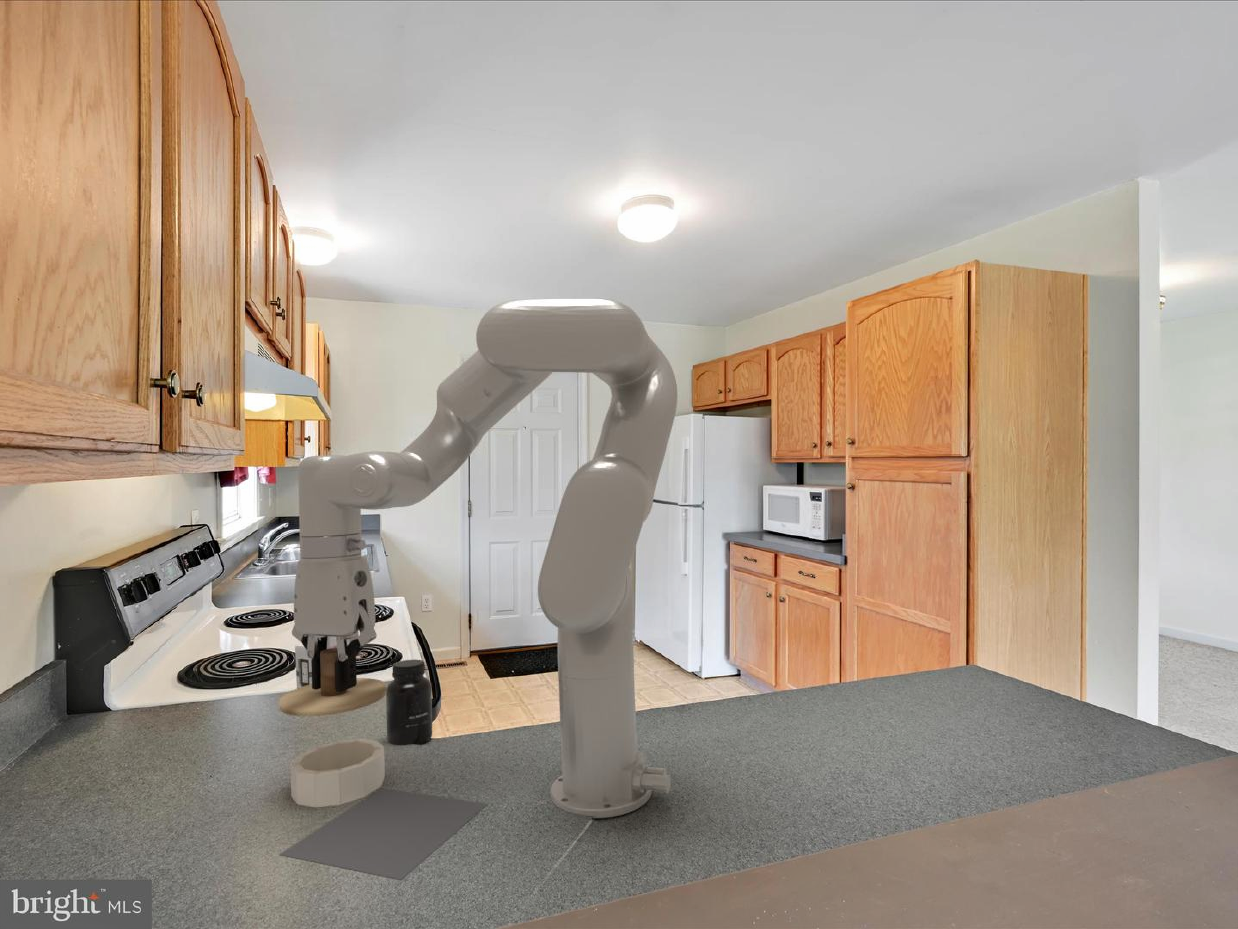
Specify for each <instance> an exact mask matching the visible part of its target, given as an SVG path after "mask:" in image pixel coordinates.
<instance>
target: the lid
mask: <svg viewBox="0 0 1238 929" xmlns="http://www.w3.org/2000/svg"><path fill="white" fill-rule="evenodd" d="M338 660H339V658H338V650H337V648H330V649H326V650H323V651H321V652H320V674H321V688H320V689H317V690H315V689H312V684H310V685H307V686H303V687H300V688H297V687H296V688H294V689H291V691H289V692H287V693H285V694H283V695H282V696H280V698H279V700H278V708H279V711H280V712H281V713H283V714H284V715H285V714H286V715H289V716H297V717H319V716H330V715H337V714H340V713H346V712H350V711H354V710H355V711H356V710H358V709H361V708H365V707H367V706H370V705H372V704H375V703H377V702H378V701H380V700H382V699H383V698H384V697H386V688H387V683H385V682H384V681H382V680H381V679H375V678H369V677H357V684H356V686H354V687H352V688H349V689H347V690H345V691H342V692H337V691H336V690H335V661H338Z"/></svg>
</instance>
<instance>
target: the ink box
mask: <svg viewBox="0 0 1238 929" xmlns="http://www.w3.org/2000/svg"><path fill="white" fill-rule="evenodd" d="M319 639H321V638H319ZM349 643H350V642H349V639H347V646H348V645H349ZM330 648H337V641H336V637H332V636H330ZM294 652H295V653H294V655H295V677H296V689H297V688H300V687H303V686H307V685H310V684H312V666H311V659H310V658H308V656H307V650H306V648H305V647H304V646H303V644H302V643H301V644H298V645H297V644H296V645H294Z"/></svg>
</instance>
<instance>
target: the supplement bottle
mask: <svg viewBox="0 0 1238 929" xmlns="http://www.w3.org/2000/svg"><path fill="white" fill-rule="evenodd" d="M425 674H426V670H425V661H424V660H422V659H405V660H401V661H396V662H394V663H393V664H392V673H391V676H392V678H393V680H392V681H390V682H389V683H388V685H386V695H385V699H386V700H385V703H386V704H385V705H386V707H385V708H386V710H385V711H386V740H387V743H389V745H395V746H407V745H416V746H419V745H422V744H425V743H427V742H428V741H429V740H431V739H432V736H433V706H432V705H433V703H432V702H433V698H432V697H433V696H432V694H433V693H432V683H431V681H430V680H429V678H427V677H426V676H425ZM428 739H429V740H428Z"/></svg>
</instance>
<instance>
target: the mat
mask: <svg viewBox="0 0 1238 929" xmlns="http://www.w3.org/2000/svg"><path fill="white" fill-rule="evenodd" d="M488 805H489V803H485V802H479V801H472V800H465V799H458V798H453V797H452V798H451V797H445V796H437V795H431V794H425V793H424V794H423V793H419V792H418V793H417V792H414V791H413V792H412V791H411V792H410V791H407V790H405V791H404V790H399V789H391V788H385V787H381V788H380V787H379V788H378V789H376V790H375V792H374V791H373V792H372V793H370V794H369V795H367V796H366V797H364V799H361V800H360V801H359V802H358V803H356V804H354V805H353V806H351V807H350V808H348V809H347V810H345V811H344V812H342V813H340V814H339V815H337V816H336V817H334V818H333V819H331V820H330V821H328V822H327V823H325V824H324V825H322V826H320V827H319V828H318V829H316V830H314V831H312V832H311V833H310V834H308V835H307V836H305V837H304V838H302V839H301V840H299V841H298V842H296V843H294V844H292V845H291V846H290V847H289V848H287V849H285V850H284V851H282V852H281V853H279V854H278V856H283V857H287V858H291V859H296V860H301V861H305V862H311V863H316V864H320V865H324V866H331V867H336V868H339V869H345V870H349V871H355V872H359V873H365V874H369V875H374V876H378V877H382V878H383V877H384V878H388V879H393V880H397V881H398V880H399V881H403V880H404V879H405V878H406V877H407V876H408V875H410V873H412V871H413V872H414V870H415V869H416V868H417V867H418V866H419V865H420V864H421V863H423V862H424V861H425V860H426V859H427V858H428V857H430V856H431V855H432V854H434V852H436V850H438V849H439V848H440V847H441V846H442V845H444V843H445V842H447V841H448V840H449V839H450V838H452V837H453V836H454V835H455V834H456V833H457V832H458V831H459V830H461V829H462V828H463V827H465V825H467V824H468V822H470V821H471V820H472V819H473V818H474V817H475V816H476V815H478V813H480V812H481V811H482V810H483V809H485V808H486V807H487V806H488Z"/></svg>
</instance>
